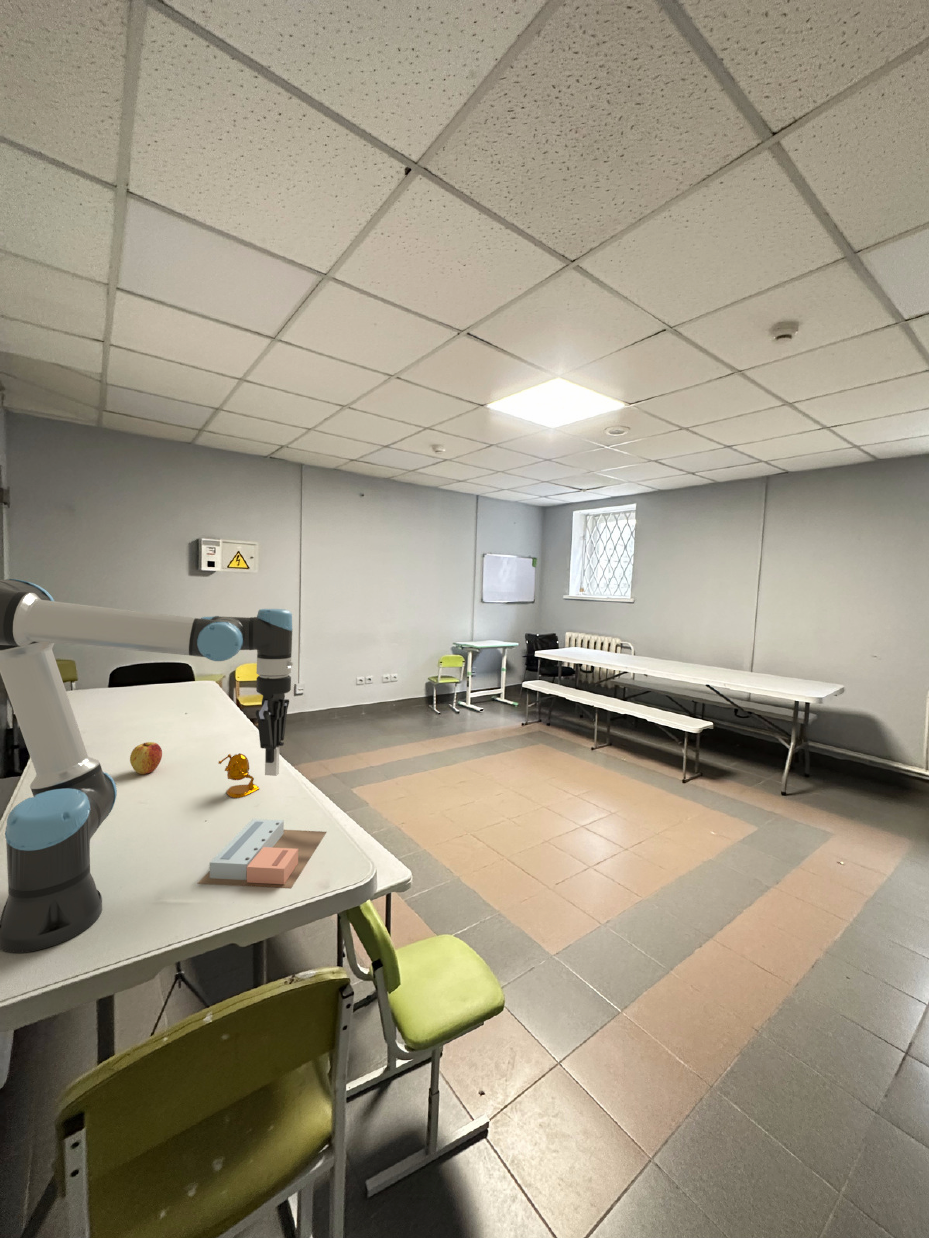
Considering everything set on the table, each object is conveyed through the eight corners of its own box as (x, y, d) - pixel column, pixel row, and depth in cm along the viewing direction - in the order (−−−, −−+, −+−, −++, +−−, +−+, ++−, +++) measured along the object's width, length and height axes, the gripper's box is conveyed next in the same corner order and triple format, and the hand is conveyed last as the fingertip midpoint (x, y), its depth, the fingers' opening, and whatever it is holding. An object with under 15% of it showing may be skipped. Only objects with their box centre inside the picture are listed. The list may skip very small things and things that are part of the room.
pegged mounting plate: (246, 879, 106) (246, 863, 106) (209, 878, 107) (209, 861, 106) (283, 833, 126) (283, 819, 126) (252, 832, 127) (252, 818, 126)
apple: (159, 775, 163) (158, 745, 162) (126, 778, 159) (126, 748, 159) (164, 765, 171) (164, 737, 170) (133, 768, 168) (133, 739, 167)
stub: (284, 884, 105) (284, 868, 105) (246, 882, 105) (246, 866, 105) (298, 863, 113) (298, 848, 113) (263, 861, 113) (263, 846, 113)
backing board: (291, 891, 104) (291, 888, 104) (197, 886, 105) (197, 883, 105) (326, 834, 128) (326, 831, 128) (250, 830, 129) (250, 827, 129)
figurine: (217, 791, 152) (217, 753, 151) (254, 783, 159) (254, 746, 158) (225, 801, 145) (225, 761, 145) (263, 792, 152) (263, 754, 151)
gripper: (277, 681, 109) (275, 786, 111) (300, 671, 122) (298, 765, 124) (244, 679, 110) (242, 783, 111) (270, 669, 123) (268, 763, 124)
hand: (271, 774), depth 117 cm, fingers closed
